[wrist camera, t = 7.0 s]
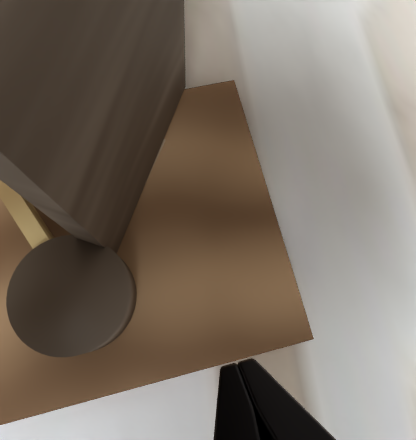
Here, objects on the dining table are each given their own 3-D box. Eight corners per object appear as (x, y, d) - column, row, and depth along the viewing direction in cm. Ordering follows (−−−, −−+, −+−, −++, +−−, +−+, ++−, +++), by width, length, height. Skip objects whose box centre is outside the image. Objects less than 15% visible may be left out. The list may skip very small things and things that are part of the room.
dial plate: (303, 337, 17) (313, 339, 16) (2, 419, 16) (-17, 429, 14) (230, 97, 21) (234, 79, 19) (-25, 146, 19) (-43, 131, 18)
